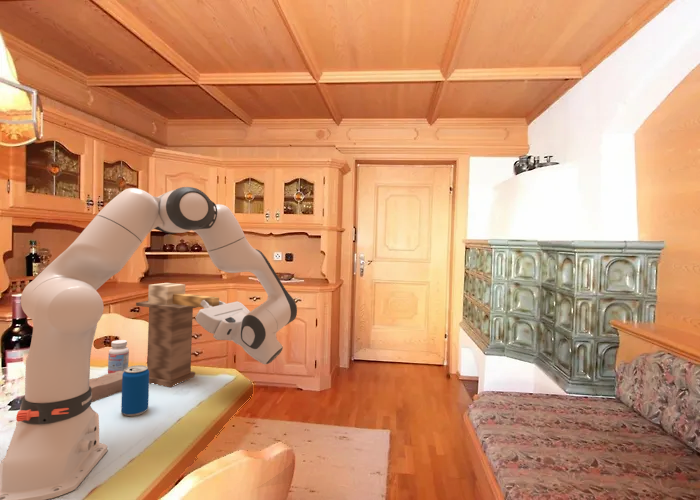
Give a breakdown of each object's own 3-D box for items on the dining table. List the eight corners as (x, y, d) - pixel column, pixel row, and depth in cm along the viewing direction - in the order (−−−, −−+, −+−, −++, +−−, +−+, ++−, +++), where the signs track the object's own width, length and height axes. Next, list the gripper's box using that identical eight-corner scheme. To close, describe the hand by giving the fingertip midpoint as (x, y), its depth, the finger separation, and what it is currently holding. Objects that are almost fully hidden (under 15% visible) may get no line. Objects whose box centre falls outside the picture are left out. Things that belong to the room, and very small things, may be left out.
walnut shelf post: (202, 377, 134) (205, 302, 133) (176, 389, 123) (179, 307, 122) (162, 369, 140) (164, 298, 139) (133, 380, 128) (136, 302, 128)
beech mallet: (223, 306, 128) (224, 288, 128) (207, 309, 121) (208, 290, 121) (166, 299, 136) (167, 282, 136) (148, 302, 129) (148, 284, 129)
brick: (119, 382, 127) (120, 368, 127) (136, 387, 124) (137, 372, 124) (64, 400, 112) (65, 384, 112) (82, 406, 109) (82, 390, 109)
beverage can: (136, 405, 110) (137, 363, 110) (153, 409, 108) (154, 366, 108) (115, 414, 104) (116, 370, 104) (133, 419, 102) (134, 374, 102)
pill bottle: (103, 376, 131) (104, 343, 131) (115, 370, 137) (116, 338, 137) (121, 377, 131) (122, 344, 131) (131, 371, 137) (132, 339, 137)
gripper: (260, 312, 131) (231, 289, 135) (222, 323, 112) (189, 296, 116) (252, 327, 132) (223, 304, 136) (212, 341, 113) (180, 313, 117)
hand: (207, 300), depth 126 cm, fingers closed on beech mallet, 3 cm apart
